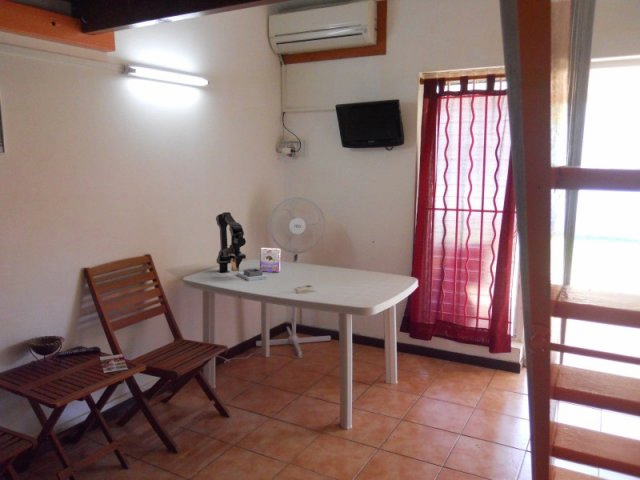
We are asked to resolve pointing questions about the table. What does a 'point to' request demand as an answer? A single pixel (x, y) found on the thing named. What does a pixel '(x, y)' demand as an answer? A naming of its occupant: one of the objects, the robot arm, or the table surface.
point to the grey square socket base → (251, 274)
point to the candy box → (270, 259)
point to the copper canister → (234, 265)
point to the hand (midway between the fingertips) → (235, 267)
